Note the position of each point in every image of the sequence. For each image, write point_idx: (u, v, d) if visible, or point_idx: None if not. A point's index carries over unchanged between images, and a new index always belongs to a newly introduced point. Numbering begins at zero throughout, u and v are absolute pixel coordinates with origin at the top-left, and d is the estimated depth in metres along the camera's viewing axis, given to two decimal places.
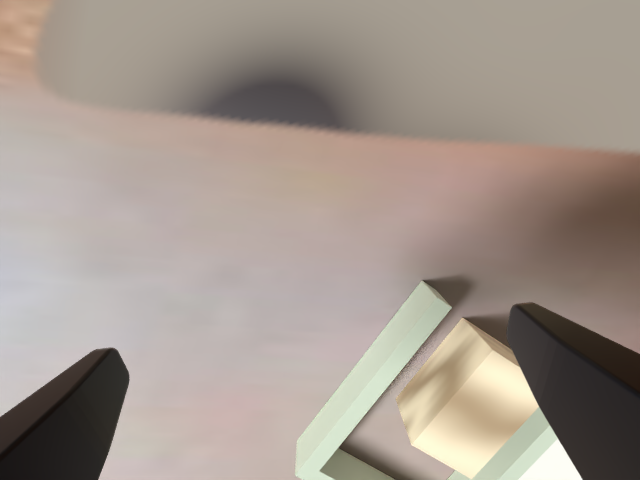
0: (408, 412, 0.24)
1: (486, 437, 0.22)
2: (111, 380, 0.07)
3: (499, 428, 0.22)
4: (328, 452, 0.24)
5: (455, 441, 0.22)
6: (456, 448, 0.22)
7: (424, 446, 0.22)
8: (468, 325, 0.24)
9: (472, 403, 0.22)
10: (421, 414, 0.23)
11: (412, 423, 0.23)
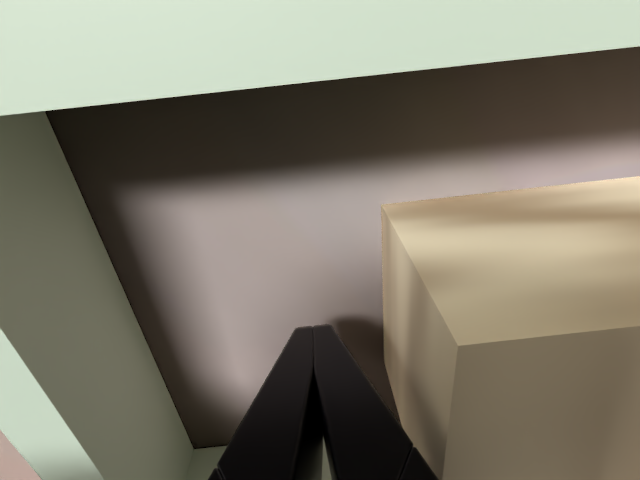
0: (445, 248, 0.06)
1: None
2: None
3: None
4: None
5: (562, 442, 0.05)
6: (529, 464, 0.05)
7: (478, 387, 0.04)
8: None
9: None
10: (535, 278, 0.05)
11: (470, 281, 0.05)
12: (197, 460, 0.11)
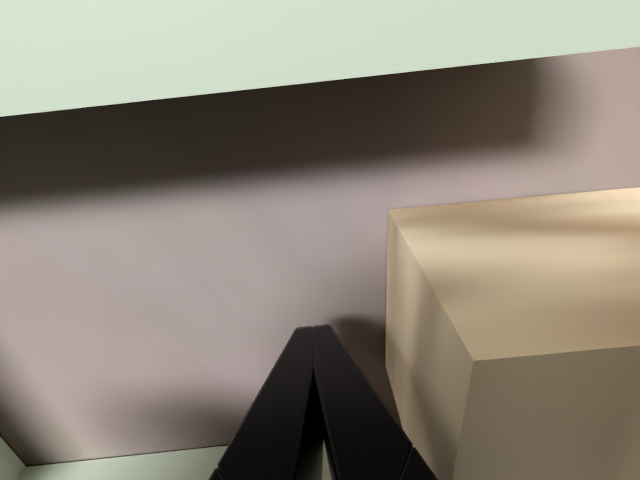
0: (456, 257, 0.06)
1: None
2: None
3: None
4: None
5: (572, 459, 0.05)
6: (538, 479, 0.05)
7: (492, 402, 0.04)
8: None
9: None
10: (549, 292, 0.05)
11: (482, 293, 0.05)
12: (24, 478, 0.11)
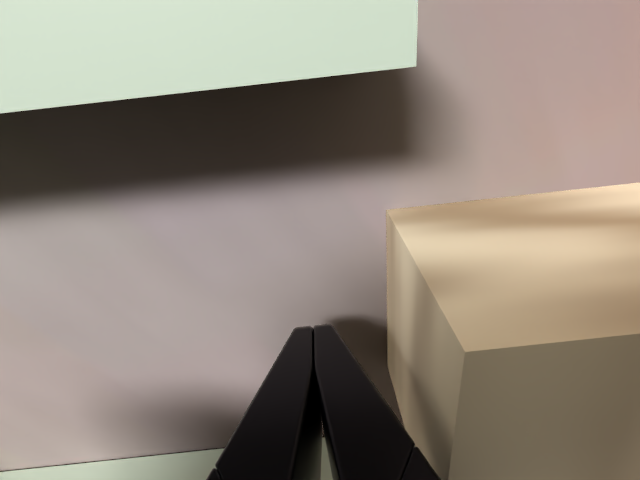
0: (450, 252, 0.06)
1: None
2: None
3: None
4: None
5: (568, 449, 0.05)
6: (535, 470, 0.05)
7: (485, 393, 0.04)
8: None
9: None
10: (541, 284, 0.05)
11: (475, 286, 0.05)
12: None
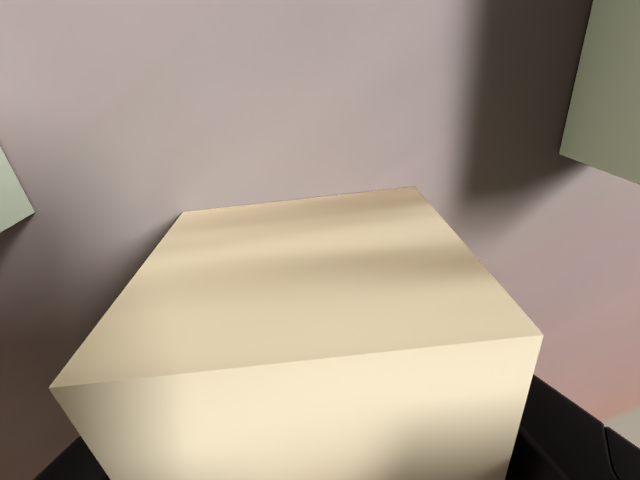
0: None
1: None
2: None
3: None
4: None
5: (336, 458, 0.04)
6: (297, 443, 0.04)
7: (461, 366, 0.04)
8: None
9: None
10: None
11: None
12: None
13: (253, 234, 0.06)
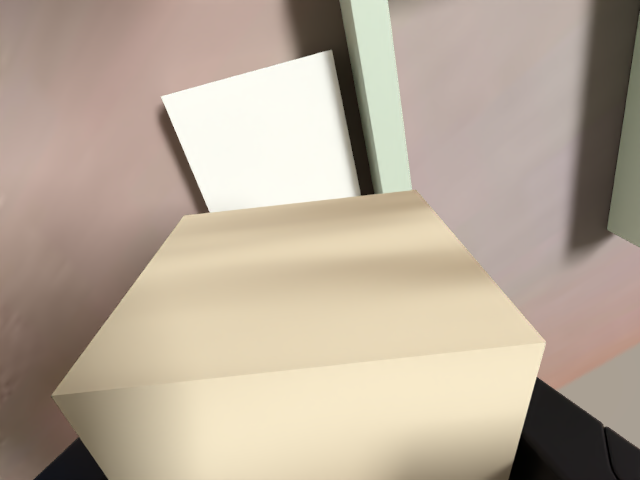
0: None
1: None
2: None
3: None
4: None
5: (338, 465, 0.04)
6: (298, 450, 0.04)
7: (463, 373, 0.04)
8: None
9: None
10: None
11: None
12: None
13: (254, 238, 0.06)
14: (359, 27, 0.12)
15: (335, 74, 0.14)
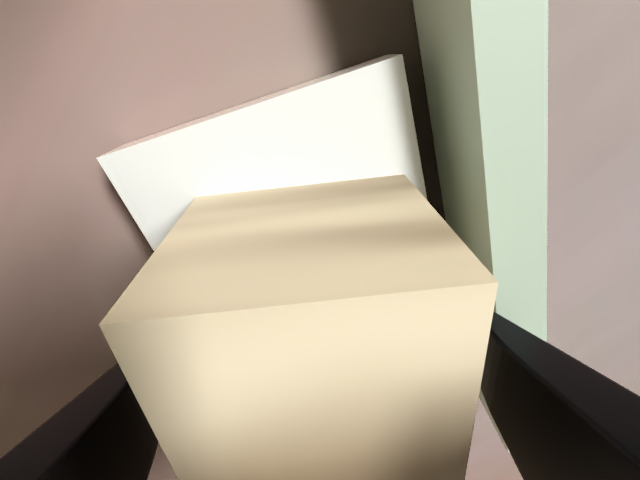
0: None
1: (251, 458, 0.06)
2: None
3: None
4: None
5: (332, 395, 0.05)
6: (298, 379, 0.05)
7: (432, 310, 0.04)
8: None
9: None
10: None
11: None
12: None
13: (260, 214, 0.07)
14: (481, 7, 0.06)
15: (407, 99, 0.08)
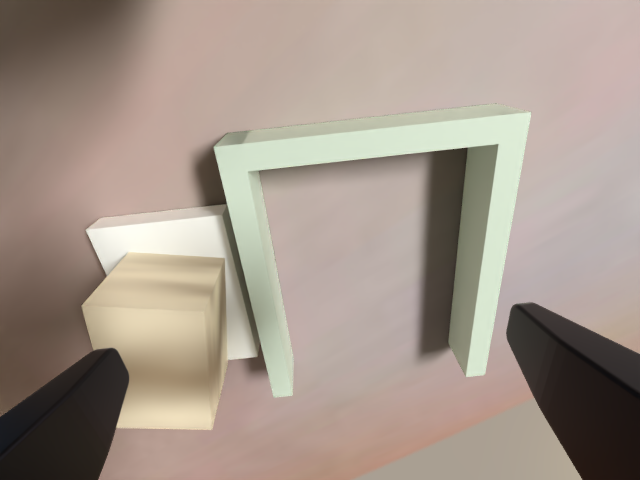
0: (216, 293, 0.17)
1: (126, 360, 0.16)
2: (111, 380, 0.07)
3: None
4: (500, 179, 0.16)
5: (155, 339, 0.16)
6: (144, 332, 0.15)
7: (185, 316, 0.15)
8: (223, 378, 0.21)
9: (180, 383, 0.17)
10: (211, 322, 0.17)
11: (211, 306, 0.16)
12: None
13: (151, 269, 0.17)
14: (234, 218, 0.16)
15: (224, 230, 0.18)
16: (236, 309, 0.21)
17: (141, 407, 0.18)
